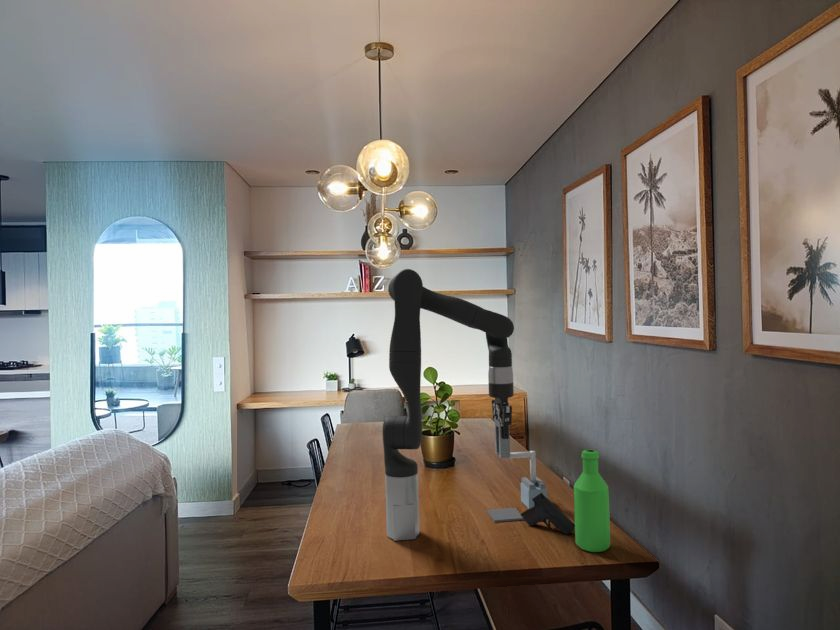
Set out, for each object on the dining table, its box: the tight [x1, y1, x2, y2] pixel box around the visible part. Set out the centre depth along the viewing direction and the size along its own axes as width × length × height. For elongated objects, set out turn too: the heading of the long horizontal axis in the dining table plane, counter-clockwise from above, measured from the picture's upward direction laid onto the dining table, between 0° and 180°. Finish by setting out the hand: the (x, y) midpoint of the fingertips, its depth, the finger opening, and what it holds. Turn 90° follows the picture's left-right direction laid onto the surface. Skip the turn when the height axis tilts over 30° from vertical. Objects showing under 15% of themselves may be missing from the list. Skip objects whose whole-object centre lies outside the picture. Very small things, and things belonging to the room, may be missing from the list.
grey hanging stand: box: [504, 450, 548, 510], centre depth 176 cm, size 8×13×19 cm, turn 98°
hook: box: [494, 418, 511, 459], centre depth 167 cm, size 5×3×11 cm, turn 8°
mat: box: [486, 507, 525, 523], centre depth 166 cm, size 9×9×1 cm
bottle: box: [573, 449, 611, 553], centre depth 143 cm, size 9×9×25 cm
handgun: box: [520, 493, 575, 536], centre depth 156 cm, size 3×14×10 cm
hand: (502, 436), depth 167 cm, fingers closed on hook, 5 cm apart
